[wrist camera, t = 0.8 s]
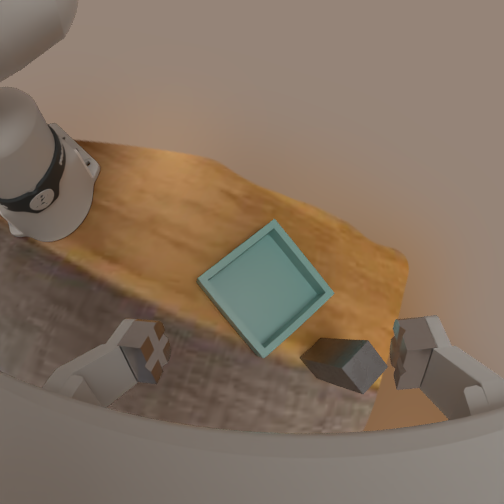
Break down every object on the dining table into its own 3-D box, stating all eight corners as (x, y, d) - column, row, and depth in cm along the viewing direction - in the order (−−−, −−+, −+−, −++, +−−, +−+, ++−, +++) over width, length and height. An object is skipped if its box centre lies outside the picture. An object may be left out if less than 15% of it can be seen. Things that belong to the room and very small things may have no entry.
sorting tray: (196, 282, 46) (197, 278, 42) (267, 226, 50) (274, 218, 46) (257, 355, 45) (263, 358, 41) (323, 295, 49) (334, 293, 46)
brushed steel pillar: (299, 357, 47) (342, 368, 33) (320, 337, 48) (368, 340, 35) (317, 378, 46) (363, 394, 33) (337, 358, 48) (387, 366, 34)
